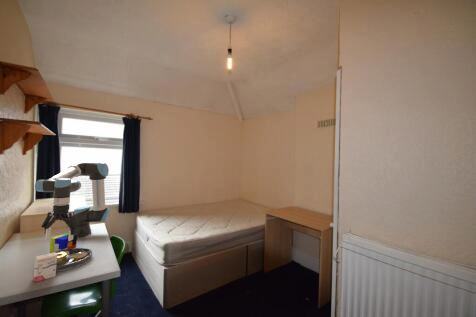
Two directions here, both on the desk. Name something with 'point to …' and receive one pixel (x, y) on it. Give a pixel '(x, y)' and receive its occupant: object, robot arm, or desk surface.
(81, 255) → the carrier
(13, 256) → the desk surface
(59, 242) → the puzzle toy
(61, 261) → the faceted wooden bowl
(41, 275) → the ink box
